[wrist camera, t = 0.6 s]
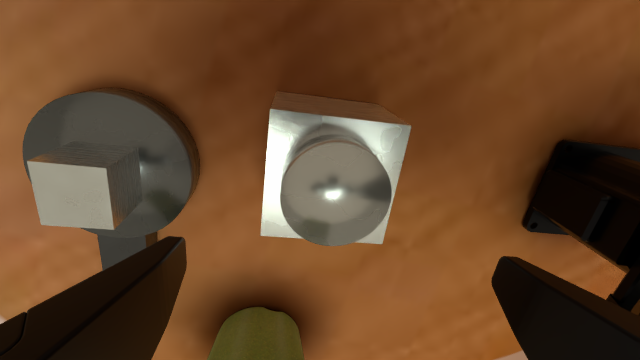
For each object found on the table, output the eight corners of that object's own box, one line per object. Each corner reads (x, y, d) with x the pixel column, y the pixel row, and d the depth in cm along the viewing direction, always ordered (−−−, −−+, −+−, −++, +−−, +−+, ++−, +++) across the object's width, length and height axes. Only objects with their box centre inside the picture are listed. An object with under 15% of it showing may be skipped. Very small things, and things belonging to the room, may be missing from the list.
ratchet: (38, 78, 16) (-64, 90, 12) (199, 98, 17) (166, 116, 13) (84, 319, 22) (30, 390, 18) (201, 323, 23) (179, 391, 19)
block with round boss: (378, 104, 18) (425, 135, 12) (359, 194, 20) (391, 263, 14) (276, 90, 17) (267, 116, 11) (268, 186, 19) (257, 255, 13)
